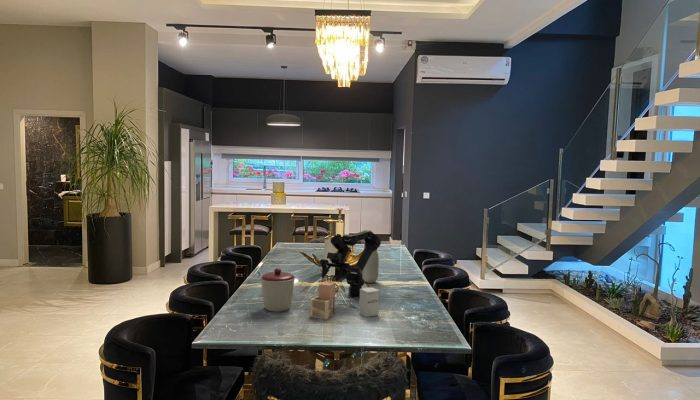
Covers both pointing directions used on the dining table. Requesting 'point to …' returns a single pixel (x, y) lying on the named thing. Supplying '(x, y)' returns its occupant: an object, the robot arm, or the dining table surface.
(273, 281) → the canister
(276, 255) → the dining table surface
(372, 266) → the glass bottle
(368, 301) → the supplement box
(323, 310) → the sleeve
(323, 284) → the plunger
